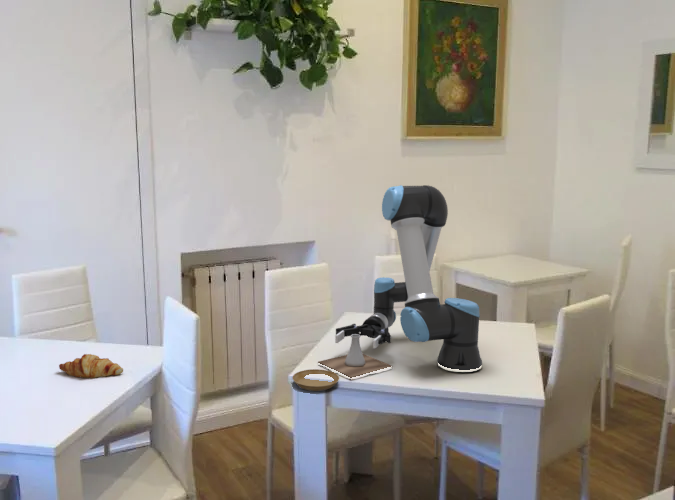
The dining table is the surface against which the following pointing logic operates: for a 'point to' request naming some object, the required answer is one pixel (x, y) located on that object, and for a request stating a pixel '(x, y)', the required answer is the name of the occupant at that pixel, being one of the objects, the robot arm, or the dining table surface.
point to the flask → (355, 353)
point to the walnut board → (353, 371)
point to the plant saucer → (314, 384)
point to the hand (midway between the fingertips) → (355, 341)
